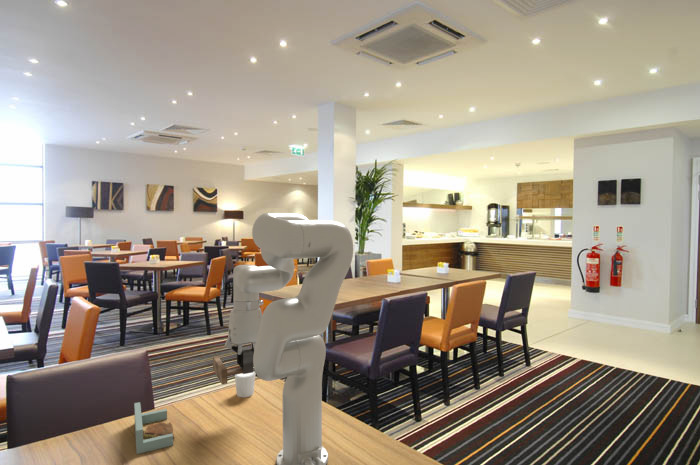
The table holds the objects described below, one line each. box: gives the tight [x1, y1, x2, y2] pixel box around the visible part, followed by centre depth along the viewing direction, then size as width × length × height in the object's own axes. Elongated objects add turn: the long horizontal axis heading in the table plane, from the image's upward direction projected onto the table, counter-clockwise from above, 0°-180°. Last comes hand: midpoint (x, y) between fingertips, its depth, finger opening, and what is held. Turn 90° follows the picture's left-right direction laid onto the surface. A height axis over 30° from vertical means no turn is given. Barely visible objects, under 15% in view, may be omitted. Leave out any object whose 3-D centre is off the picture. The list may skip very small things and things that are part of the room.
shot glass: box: [234, 370, 256, 398], centre depth 140 cm, size 7×7×7 cm
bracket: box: [133, 401, 174, 455], centre depth 114 cm, size 18×8×6 cm, turn 29°
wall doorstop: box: [212, 347, 254, 385], centre depth 124 cm, size 13×10×6 cm
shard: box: [143, 421, 175, 442], centre depth 113 cm, size 11×8×2 cm
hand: (246, 364), depth 126 cm, fingers closed on wall doorstop, 3 cm apart
